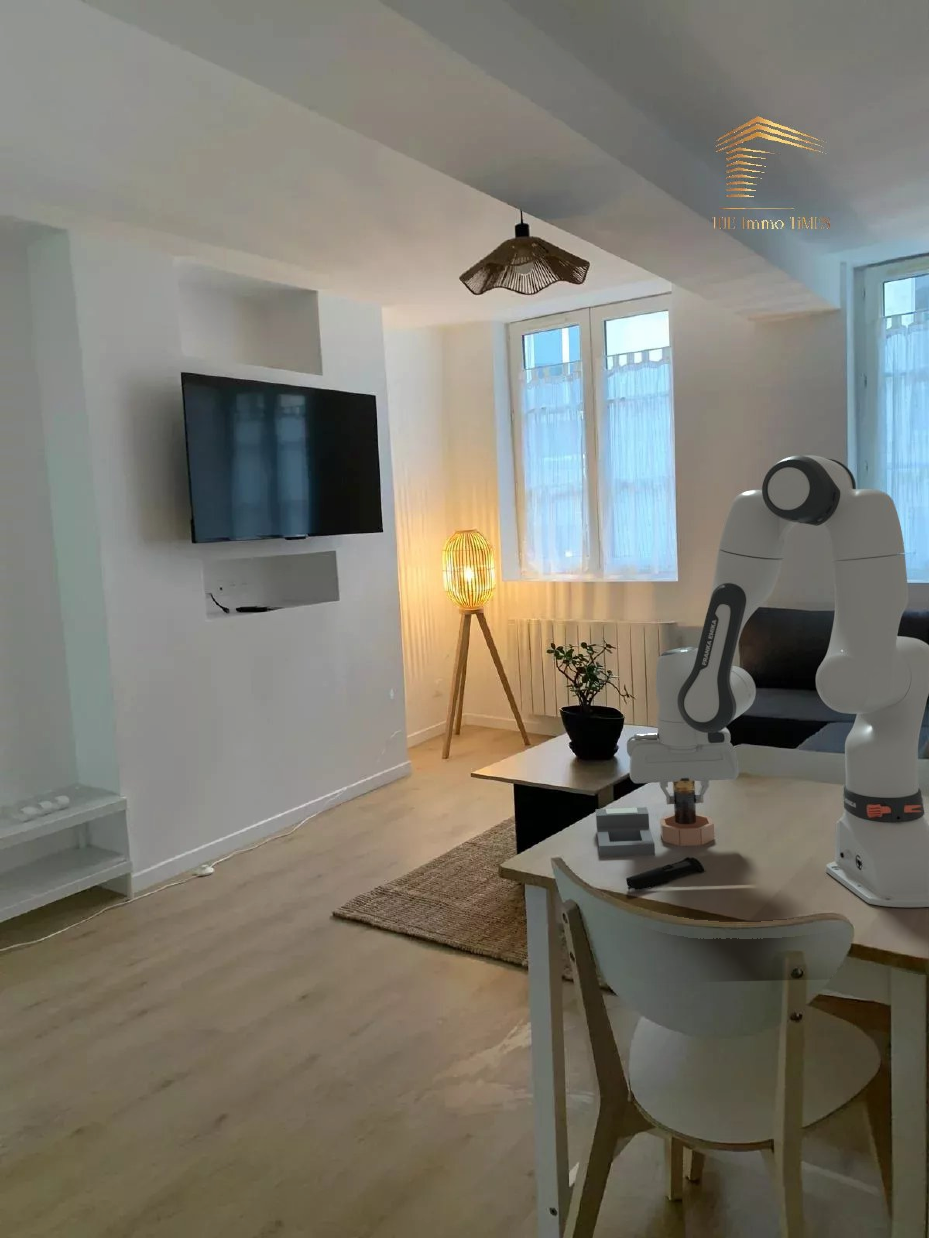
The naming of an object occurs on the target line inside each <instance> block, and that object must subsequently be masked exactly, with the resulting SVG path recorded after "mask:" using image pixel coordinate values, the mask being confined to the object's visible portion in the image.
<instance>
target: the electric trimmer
mask: <svg viewBox="0 0 929 1238" xmlns="http://www.w3.org/2000/svg"><path fill="white" fill-rule="evenodd" d="M704 872H706V869H705V868H704V866H703V864H702V863H701V861H700V860H699V859H697V858H695V857H687V856H686V857H685V858H684V859H683V860H681V861H677V862H673V863H671V864H667V865H664V866H660V867H659V866H658V867H655V868H653V869H650V870H648V871H644V872H641V873H638V874H635V875H632V876H629V877H627V878H625V879H626V885H627V886H628V887H629V888H631V889H633V890H635V891H640V890H641V891H642V890H645V889H651V888H655V887H658V886H663V885H666V884H669V882H670V881H674V880H676V879H679V878H682V877H683V878H684V877H687V876H689V875H692V874H697V873H698V874H699V873H700V874H702V873H704Z"/></svg>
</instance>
